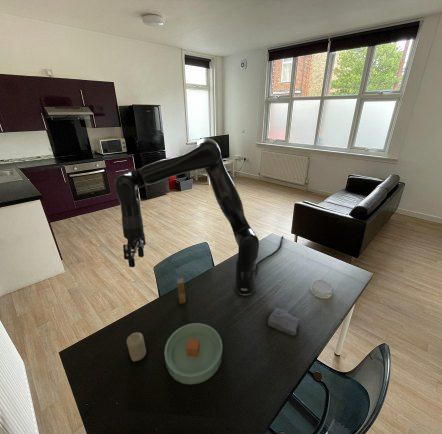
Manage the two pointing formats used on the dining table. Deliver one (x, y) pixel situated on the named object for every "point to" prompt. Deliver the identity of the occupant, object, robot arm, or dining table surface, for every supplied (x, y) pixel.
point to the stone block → (284, 321)
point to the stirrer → (181, 290)
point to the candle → (136, 346)
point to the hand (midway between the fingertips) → (136, 261)
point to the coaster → (321, 289)
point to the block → (193, 347)
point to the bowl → (191, 365)
